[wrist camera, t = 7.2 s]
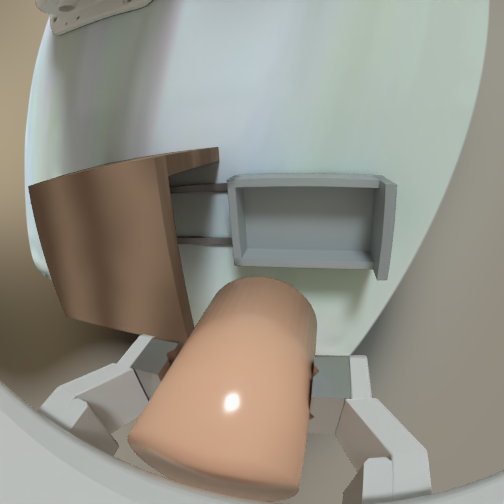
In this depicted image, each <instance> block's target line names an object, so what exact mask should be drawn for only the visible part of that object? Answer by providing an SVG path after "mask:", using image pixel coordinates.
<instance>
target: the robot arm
mask: <svg viewBox="0 0 504 504" xmlns="http://www.w3.org/2000/svg"><path fill="white" fill-rule="evenodd" d="M150 2H151V0H35V3H36V6H37V7H38V9H39V10H40V11H42V12H44V13H46V14H49V15H50V26H51V29H52V31H53V33H54V34H56V35H62V34H64V33H66V32H69V31H71V30H74V29H76V28H79V27H81V26H84V25H86V24H89V23H92V22H95V21H98V20H101V19H104V18H107V17H110V16H113V15H116V14H120V13H123V12H127V11H131V10H135V9H139V8H142V7H144V6H146V5H147V4H149V3H150ZM184 344H185V343H183V342H181V341H175V340H170V339H165V338H161V337H154V336H150V335H146V334H143V335H140V336H139V337H138V338H137V340H136V341H135V342H134V343H133V344H132V346H131V347H130V348H129V349H128V350H127V352H126V353H125V354H124V355H123V357H122V358H121V359H120V360H119V362H118V363H117V364H115V363H112V364H110V365H107V366H105V367H103V368H101V369H98V370H96V371H94V372H91V373H89V374H87V375H85V376H82V377H80V378H77V379H75V380H73V381H70V382H68V383H65V384H63V385H61V386H58V388H57V389H56V390H55V391H54V392H53V393H52V394H51V395H50V397H49V398H48V399H47V400H46V401H45V402H44V404H43V405H42V406H41V407H40V408H39V410H38V411H36V410H35V409H34V408H33V407H31V406H30V405H28V404H27V403H26V402H25V401H23V400H22V399H21V398H20V397H18V396H17V395H16V394H15V393H14V392H12V391H11V390H10V389H9V388H8V387H7V386H5V385H4V384H3V383H2V382H1V381H0V504H281V503H272V502H264V501H257V500H251V499H245V498H239V497H234V496H229V495H224V494H220V493H215V492H211V491H207V490H203V489H200V488H196V487H192V486H189V485H186V484H182V483H179V482H176V481H173V480H170V479H167V478H164V477H161V476H159V475H156V474H153V473H151V472H148V471H145V470H143V469H140V468H138V467H136V466H133V465H131V464H129V463H126V462H124V461H122V460H120V459H118V458H115V457H114V454H115V453H116V451H117V449H118V448H119V445H118V443H117V442H116V440H115V439H114V438H113V437H112V435H111V433H113V432H114V431H116V430H118V429H119V428H121V427H122V426H124V425H125V424H126V423H128V422H130V421H132V420H133V419H135V418H136V417H138V416H139V415H141V414H142V412H143V410H144V409H145V407H146V405H147V404H148V402H149V401H150V399H151V397H152V396H153V394H154V393H155V391H156V389H157V388H158V386H159V384H160V383H161V381H162V380H163V378H164V376H165V375H166V373H167V372H168V370H169V368H170V367H171V365H172V363H173V362H174V360H175V359H176V357H177V355H178V354H179V352H180V351H181V349H182V347H183V346H184ZM309 412H310V417H309V425H308V433H318V434H335V437H336V439H337V440H338V442H339V443H340V445H341V447H342V448H343V450H344V452H345V453H346V455H347V456H348V458H349V460H350V461H351V463H352V464H353V466H354V467H355V469H356V471H357V472H358V473H357V474H356V476H355V477H354V479H353V480H352V481H351V483H350V484H349V485H348V487H347V488H346V489H345V491H344V492H343V500H342V504H504V470H502V471H500V472H498V473H496V474H493V475H491V476H488V477H485V478H483V479H480V480H477V481H475V482H472V483H469V484H466V485H463V486H460V487H456V488H453V489H449V490H446V491H442V492H438V493H434V494H431V482H430V471H429V463H428V455H427V450H426V449H425V448H424V447H423V446H422V445H421V444H420V443H419V442H418V441H417V440H416V439H415V438H414V437H413V436H412V435H411V434H410V433H409V431H408V430H407V429H405V427H403V425H402V424H401V423H400V422H399V421H398V420H397V419H396V418H395V417H394V416H393V415H392V414H391V413H390V412H389V411H388V410H387V408H385V406H384V405H383V404H382V403H381V402H380V401H379V400H378V399H377V398H372V396H371V387H370V378H369V370H368V362H367V357H366V356H365V355H356V356H354V355H353V356H331V355H315V356H314V366H313V377H312V389H311V398H310V408H309Z"/></svg>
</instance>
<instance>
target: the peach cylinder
mask: <svg viewBox="0 0 504 504" xmlns="http://www.w3.org/2000/svg"><path fill="white" fill-rule="evenodd" d="M316 336H317V320H316V315H315V312H314V310H313V308H312V306H311V304H310V303H309V302H308V300H307V299H306V298H305V297H304V296H303V295H302V294H301V293H300V292H299V291H297V290H296V289H295V288H293V287H291V286H290V285H288V284H286V283H284V282H281V281H278V280H275V279H271V278H267V277H245V278H241V279H237V280H234V281H232V282H230V283H228V284H227V285H225V286H224V287H222V288H221V289H220V290H219V291H218V292H217V293H216V295H215V296H214V298H213V300H212V301H211V303H210V304H209V306H208V308H207V309H206V311H205V312H204V314H203V316H202V317H201V319H200V320H199V322H198V323H197V325H196V327H195V328H194V330H193V331H192V333H191V335H190V336H189V338H188V339H187V341H186V343H185V344H184V346H183V347H182V349H181V351H180V352H179V354H178V355H177V357H176V359H175V360H174V362H173V363H172V365H171V367H170V368H169V370H168V372H167V373H166V375H165V376H164V378H163V380H162V381H161V383H160V384H159V386H158V388H157V389H156V391H155V393H154V394H153V396H152V397H151V399H150V401H149V402H148V404H147V405H146V407H145V409H144V410H143V412H142V414H141V415H140V417H139V418H138V420H137V422H136V423H135V425H134V427H133V428H132V430H131V432H130V433H129V435H128V443H129V445H130V447H131V448H132V450H133V451H134V452H135V453H136V454H137V455H138V456H139V457H140V458H141V459H142V460H143V461H144V462H145V463H147V464H148V465H150V466H151V467H152V468H154V469H155V470H156V471H158V472H160V473H161V474H163V475H165V476H166V477H168V478H170V479H172V480H174V481H176V482H179V483H182V484H186V485H189V486H192V487H196V488H200V489H203V490H207V491H211V492H215V493H220V494H224V495H229V496H234V497H239V498H245V499H251V500H257V501H264V502H275V501H281V500H286V499H289V498H291V497H293V496H295V495H296V494H297V493H298V491H299V485H300V480H301V474H302V467H303V461H304V455H305V448H306V441H307V433H308V425H309V417H310V412H309V408H310V398H311V389H312V377H313V366H314V356H315V352H316Z"/></svg>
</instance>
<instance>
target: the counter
mask: <svg viewBox="0 0 504 504" xmlns="http://www.w3.org/2000/svg"><path fill="white" fill-rule="evenodd" d="M217 161H219V151H218V147H214V148H204V149H195V150H187V151H179V152H172V153H165V154H158V155H152V156H146V157H140V158H135V159H129V160H124V161H119V162H114V163H109V164H104V165H100V166H96V167H92V168H88V169H84V170H81V171H77V172H73V173H70V174H66V175H63V176H59V177H56V178H53V179H49V180H46V181H43V182H40V183H37V184H34V185H31V186H28V188H29V194H30V199H31V204H32V209H33V214H34V218H35V223H36V227H37V231H38V235H39V239H40V242H41V246H42V250H43V253H44V256H45V260H46V263H47V266H48V269H49V272H50V275H51V278H52V281H53V284H54V287H55V289H56V292H57V295H58V297H59V300H60V303H61V305H62V308H63V310H64V312H65V315H66V317H70V318H73V319H77V320H81V321H84V322H88V323H93V324H96V325H100V326H104V327H108V328H112V329H117V330H121V331H126V332H130V333H135V334H140V335H143V334H146V335H150V336H154V337H161V338H165V339H170V340H175V341H181V342H183V343H186V341H187V339H188V338H189V336H190V335H191V333H192V331H193V330H194V324H193V320H192V315H191V311H190V306H189V301H188V296H187V291H186V286H185V281H184V276H183V271H182V265H181V259H180V254H179V248H178V244H217V245H233V243H232V238H197V237H177V236H176V230H175V223H174V216H173V209H172V202H171V195H170V194H172V193H186V192H203V191H224V190H228V188H227V183H220V184H203V185H188V186H176V187H169V179H168V176H170V175H173V174H176V173H180V172H183V171H186V170H189V169H192V168H196V167H199V166H203V165H206V164H209V163H213V162H217Z"/></svg>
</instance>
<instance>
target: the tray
mask: <svg viewBox="0 0 504 504" xmlns="http://www.w3.org/2000/svg"><path fill="white" fill-rule="evenodd" d="M227 188H228V200H229V211H230V222H231V232H232V243H233V253H234V263H235V265H237V266H266V267H298V268H336V269H373V270H374V273H375V276H376V279H377V280H387V278H388V271H389V265H390V258H391V250H392V241H393V232H394V222H395V209H396V194H397V185H396V184H395V183H393V182H392V181H390V180H388V179H387V178H385V177H383V176H380V175H360V174H324V173H286V174H249V175H236V176H234V177H232V178H230V179H228V180H227Z"/></svg>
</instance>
